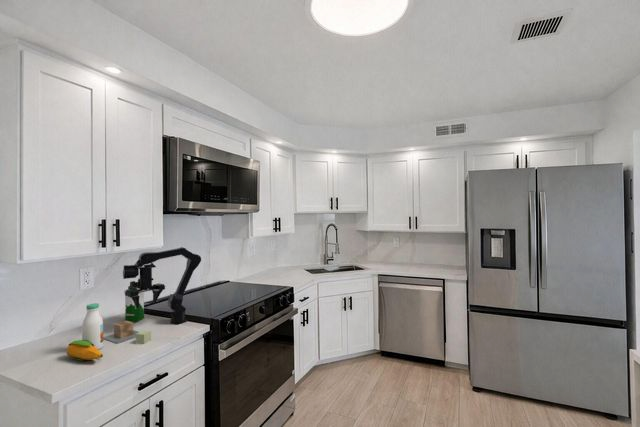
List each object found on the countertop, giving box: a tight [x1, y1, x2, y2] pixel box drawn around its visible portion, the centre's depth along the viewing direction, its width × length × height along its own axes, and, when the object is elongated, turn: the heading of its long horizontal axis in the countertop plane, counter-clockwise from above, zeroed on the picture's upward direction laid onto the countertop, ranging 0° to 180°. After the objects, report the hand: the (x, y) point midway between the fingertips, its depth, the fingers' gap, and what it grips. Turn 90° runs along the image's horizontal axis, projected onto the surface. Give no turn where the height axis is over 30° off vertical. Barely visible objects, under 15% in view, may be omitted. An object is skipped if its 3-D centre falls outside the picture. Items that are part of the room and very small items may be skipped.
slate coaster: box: [103, 329, 140, 345], centre depth 159 cm, size 13×13×1 cm
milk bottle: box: [81, 303, 104, 351], centre depth 144 cm, size 8×8×20 cm
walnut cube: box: [113, 320, 134, 339], centre depth 159 cm, size 6×6×6 cm
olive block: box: [135, 330, 152, 345], centre depth 152 cm, size 4×4×4 cm
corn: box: [66, 339, 104, 362], centre depth 134 cm, size 7×8×20 cm
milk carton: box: [123, 285, 145, 323], centre depth 184 cm, size 9×9×20 cm
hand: (145, 306), depth 170 cm, fingers open, 9 cm apart
